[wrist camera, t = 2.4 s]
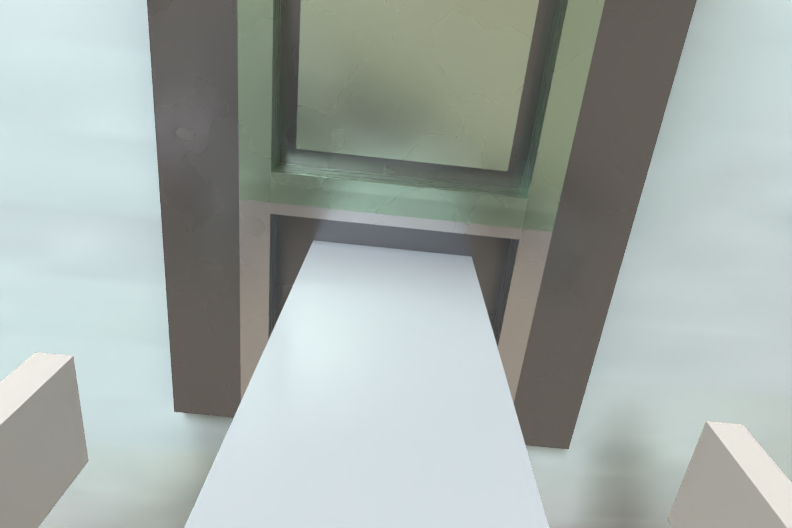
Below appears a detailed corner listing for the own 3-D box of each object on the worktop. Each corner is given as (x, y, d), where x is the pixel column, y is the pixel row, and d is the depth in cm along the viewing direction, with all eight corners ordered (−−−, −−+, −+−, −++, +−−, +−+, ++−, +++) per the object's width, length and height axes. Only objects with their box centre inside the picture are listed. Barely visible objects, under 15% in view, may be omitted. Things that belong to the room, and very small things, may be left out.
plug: (307, 374, 17) (137, 955, 6) (313, 240, 16) (95, 725, 5) (449, 387, 17) (519, 982, 7) (471, 256, 16) (618, 769, 5)
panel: (180, 401, 18) (161, 432, 17) (144, -190, 12) (111, -218, 11) (564, 438, 19) (577, 471, 17) (720, -121, 12) (759, -140, 11)
